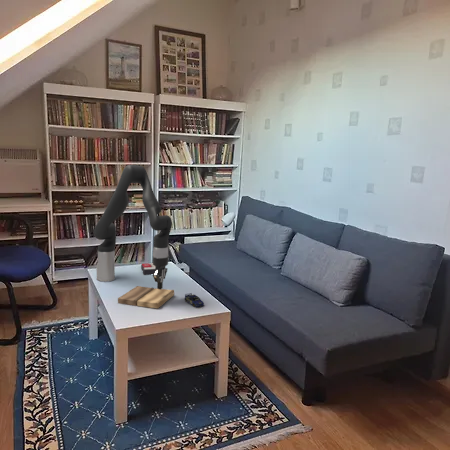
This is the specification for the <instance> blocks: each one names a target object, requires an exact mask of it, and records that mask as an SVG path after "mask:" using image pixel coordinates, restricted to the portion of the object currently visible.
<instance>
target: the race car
mask: <svg viewBox="0 0 450 450" xmlns="http://www.w3.org/2000/svg"><path fill="white" fill-rule="evenodd" d="M183 299H184V301H185V303H188V304H190V305H191V306H192V307H194V308H195V309H197V310H202V309H203V307H204V306H205V304H204V300H202V299H201V297H199V296H198V295H196V294H192V292H191V293H190V292H189V293H185V294H184V298H183Z"/></svg>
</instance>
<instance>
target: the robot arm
mask: <svg viewBox="0 0 450 450" xmlns="http://www.w3.org/2000/svg"><path fill="white" fill-rule="evenodd" d="M147 172H148V171H147V170H146V168H145V167H144V166H143V165H135V164H128V165H126V166H125V167H124V168H123V169H122V172H121V175H120V177H119V181H118V183H117V186H116V188H115V191H114V193H113V194H112V196H111V198H110V200H109V202H108V204H107V206H106V208H105V210H104V212H103V214H102V216H101V217H100V218H99V220H98V222H97V223H96V225H95V226H94V229H93V234H94V237H95V238H96V239H97V240H99V241H100V240H101V241H102V242H101V243H100V244H99V245H97V263H96V265H95V266H96V267H95V268H96V280H97V281H99V282H102V283H103V282H104V283H105V282H112V281H114V280H115V278H116V275H115V274H116V272H115V271H116V269H115V266H116V265H115V262H116V261H115V260H116V259H115V256H116V254H115V247H116V243H117V228H116V225H115V224H114V222H115V220H117V219H118V218H120V217H121V216H122V215H123V214H124V213H125V211H126V209H127V207H128V206H129V201H130V200H129V196H128V195H129V194H128V189H129V187H130V186H131V184H138V185H140V187H141V188H142V198H141V200H142V204H143V206H144V208H145V210H146V212H147V215H148V221H149V226H150V228H151V229H152V230H153V231H158V233H157V234H155V235H154V236H153V250H152V263H153V265H154V266H155V267H156V268H155V274H153V275H152V277H153V280H154V281H155V282H156V284H157V287H156V288H157V289H160V290H161V289H164V288H163V287H164V284H163V282H164V280H165V279H166V276H167V272H168V268H167V267H166V266H168V265H169V237H170V234H171V230H172V226H173V221H172V218H171V216H170V215H165V214H164V215H159V214H160V213H161V212H162V207H161V205H160V203H159V201H158V198H157V196H156V195H155V193H154V190H153V188H152V184H151V180H150V178H149V175H148V173H147ZM159 231H160V232H159Z"/></svg>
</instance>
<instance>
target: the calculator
mask: <svg viewBox="0 0 450 450" xmlns="http://www.w3.org/2000/svg"><path fill="white" fill-rule="evenodd" d="M155 268H156V267H155V266H154V265H153V262H151V263H149V262H148V263H141V265H140V269H141V271H143V272H142V274H143V276H152V275H151V274H155Z"/></svg>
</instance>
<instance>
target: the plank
mask: <svg viewBox="0 0 450 450" xmlns="http://www.w3.org/2000/svg"><path fill="white" fill-rule="evenodd" d="M174 296H175V289H167V288H165V289H164V288H162V289H161V290H160V289H157V287H156V288H155V287H154V289H153V290H152V291H151V292H149V293H148V294H146V295H145V296H144V297H142V298H141V299H139V300H138V301H137V306H136V307H144V308H151V309H159V308H161V307H162V306H163V305H164V304H165V303H166V302H167V301H169V300H170V299H171V298H173V297H174Z"/></svg>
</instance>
